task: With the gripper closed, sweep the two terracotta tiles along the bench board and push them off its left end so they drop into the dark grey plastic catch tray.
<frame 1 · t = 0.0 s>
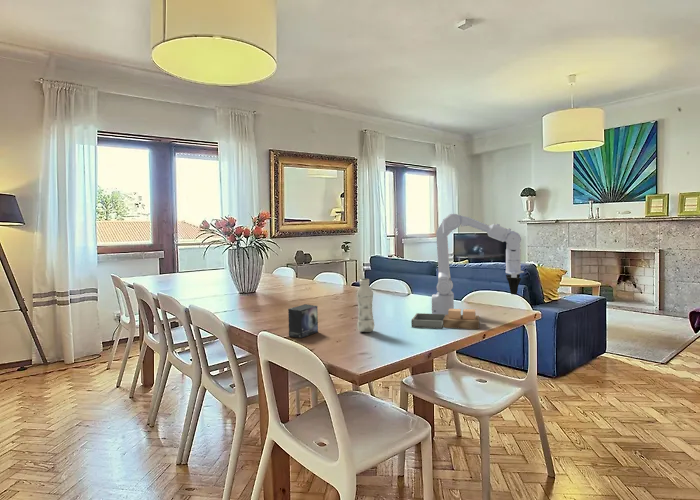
hand: (513, 292, 182), 10 cm above the table, tool pointing down, fingers open, 7 cm apart
small box: (303, 335, 164), on the table
plastic bottle: (366, 332, 165), on the table
bench board: (461, 325, 170), on the table
tile b: (454, 317, 171), point 3 cm above the table, touching bench board
catch tray: (428, 323, 174), on the table
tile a: (469, 318, 169), point 3 cm above the table, touching bench board
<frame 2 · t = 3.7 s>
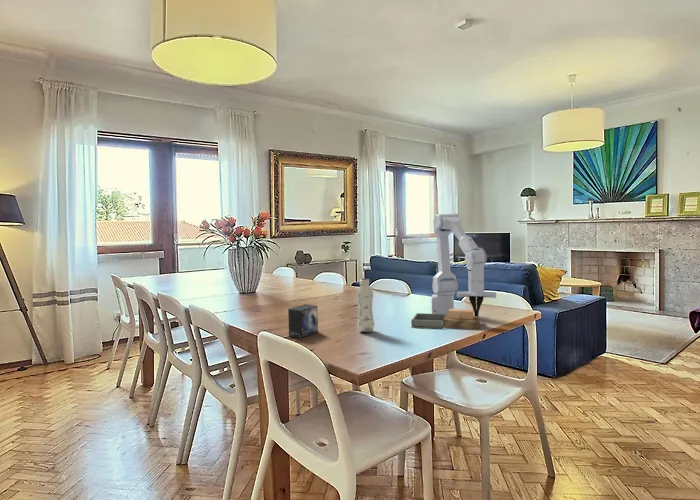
hand: (476, 315, 168), 4 cm above the table, tool pointing down, fingers closed
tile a: (467, 317, 169), point 3 cm above the table, touching gripper
everything else where it was.
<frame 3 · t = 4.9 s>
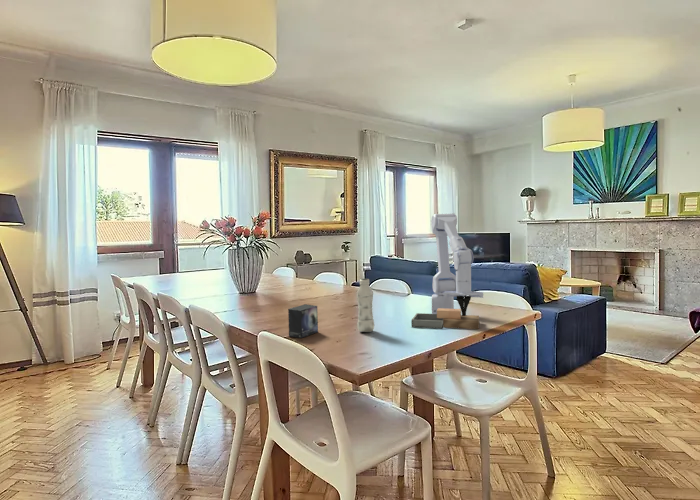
hand: (464, 315, 170), 4 cm above the table, tool pointing down, fingers closed
tile b: (443, 317, 172), point 3 cm above the table, touching bench board, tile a
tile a: (455, 317, 171), point 3 cm above the table, touching bench board, gripper, tile b
everything else where it was.
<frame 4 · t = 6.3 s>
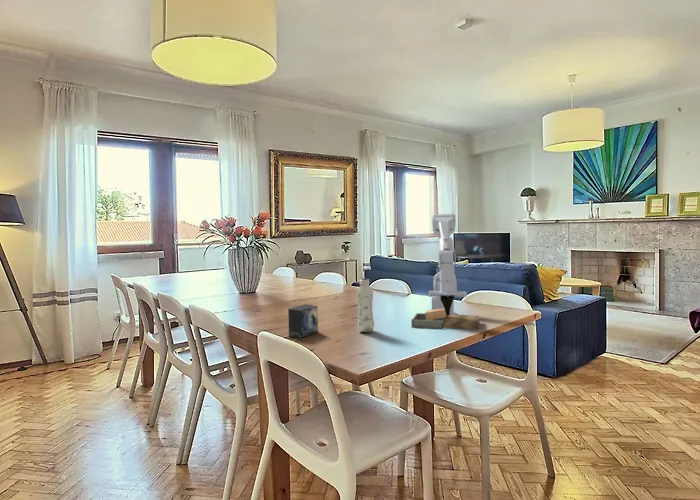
hand: (447, 314, 172), 4 cm above the table, tool pointing down, fingers closed
tile b: (434, 316, 173), point 3 cm above the table, tilted 98°, touching catch tray, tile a
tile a: (440, 317, 173), point 3 cm above the table, tilted 8°, touching gripper, tile b
everything else where it was.
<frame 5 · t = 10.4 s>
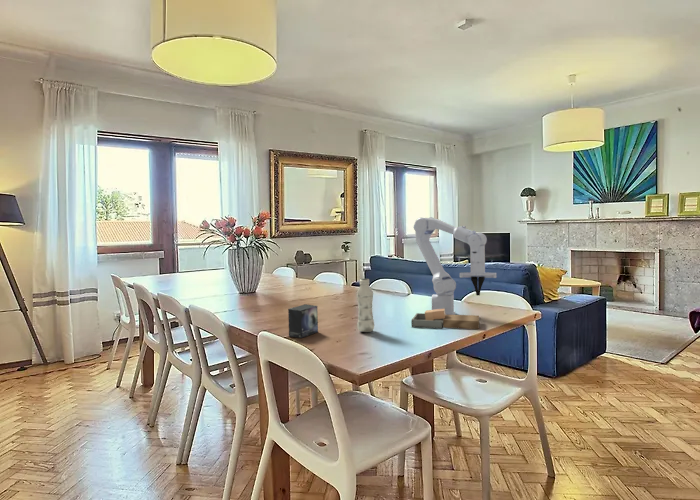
hand: (478, 295, 180), 10 cm above the table, tool pointing down, fingers closed
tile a: (439, 317, 173), point 3 cm above the table, tilted 7°, touching bench board, tile b
everything else where it was.
at the end: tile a inside the target area on the catch tray (4.3 cm from its centre), point 2.8 cm above the catch tray's base; tile b inside the target area on the catch tray (1.9 cm from its centre), point 3.1 cm above the catch tray's base; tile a moved 11.4 cm from its start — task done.
